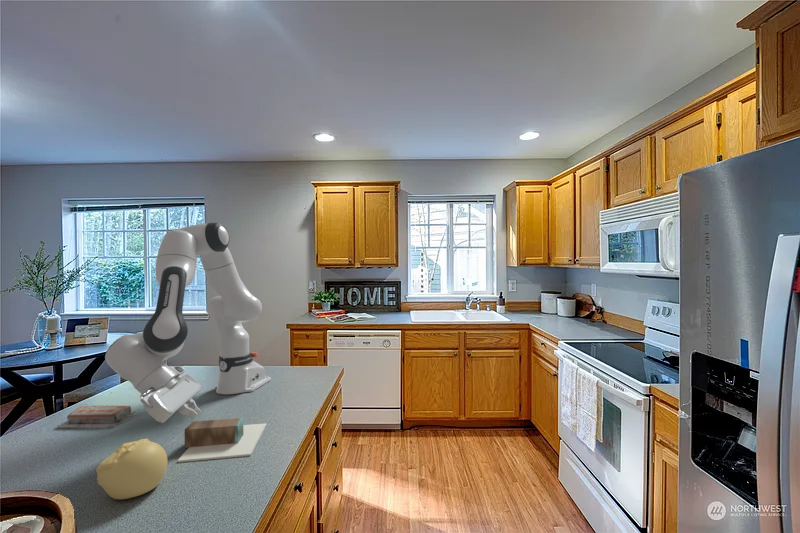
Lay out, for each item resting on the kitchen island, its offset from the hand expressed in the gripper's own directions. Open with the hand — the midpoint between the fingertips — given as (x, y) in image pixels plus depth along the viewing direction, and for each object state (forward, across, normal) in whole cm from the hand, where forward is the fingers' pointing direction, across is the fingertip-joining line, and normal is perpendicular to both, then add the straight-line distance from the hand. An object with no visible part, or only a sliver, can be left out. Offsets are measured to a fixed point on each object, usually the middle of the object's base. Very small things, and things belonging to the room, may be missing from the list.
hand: (197, 414), depth 98 cm
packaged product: (-21, +22, +34) cm, 46 cm away
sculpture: (+2, -19, +10) cm, 22 cm away
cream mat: (+12, 0, 0) cm, 12 cm away
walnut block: (+2, 0, +5) cm, 6 cm away
